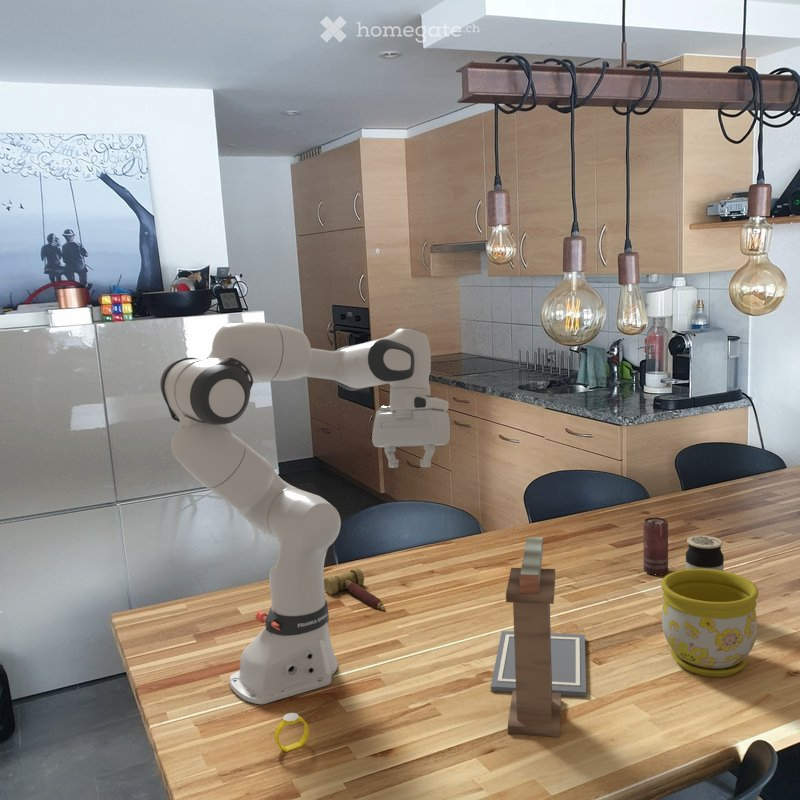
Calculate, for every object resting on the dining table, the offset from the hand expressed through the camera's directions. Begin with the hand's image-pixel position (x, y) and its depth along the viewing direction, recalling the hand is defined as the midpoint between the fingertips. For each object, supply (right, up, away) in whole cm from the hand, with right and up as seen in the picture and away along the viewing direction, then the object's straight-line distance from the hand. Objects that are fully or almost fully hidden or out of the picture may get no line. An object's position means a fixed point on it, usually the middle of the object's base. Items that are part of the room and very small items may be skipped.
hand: (409, 467), depth 172 cm
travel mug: (+67, -35, +9) cm, 76 cm away
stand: (+23, -43, -27) cm, 56 cm away
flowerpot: (+60, -39, -11) cm, 73 cm away
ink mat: (+27, -40, -8) cm, 49 cm away
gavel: (-12, -36, +30) cm, 49 cm away
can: (+65, -31, +36) cm, 81 cm away
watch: (-21, -47, -32) cm, 60 cm away
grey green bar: (+22, -17, -27) cm, 39 cm away
